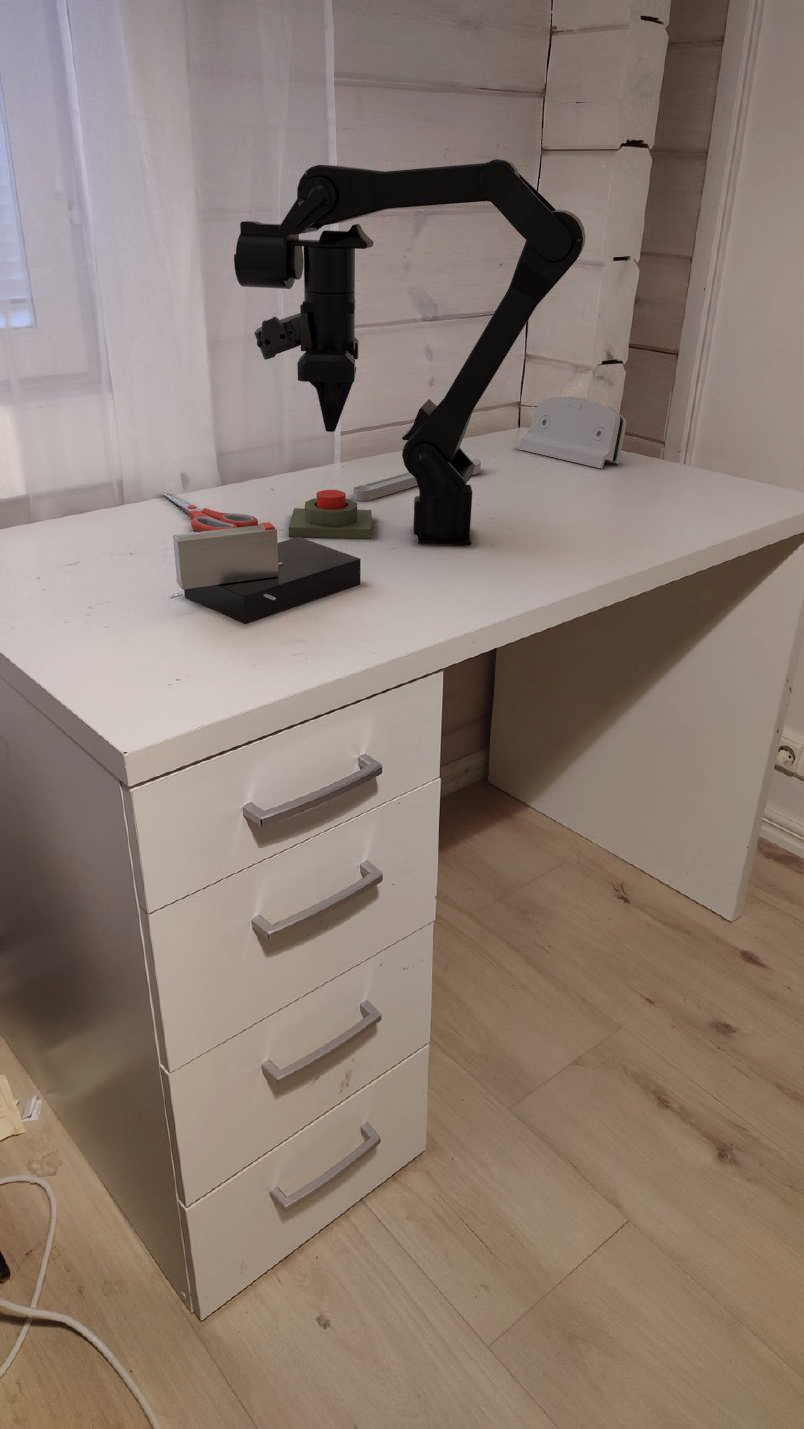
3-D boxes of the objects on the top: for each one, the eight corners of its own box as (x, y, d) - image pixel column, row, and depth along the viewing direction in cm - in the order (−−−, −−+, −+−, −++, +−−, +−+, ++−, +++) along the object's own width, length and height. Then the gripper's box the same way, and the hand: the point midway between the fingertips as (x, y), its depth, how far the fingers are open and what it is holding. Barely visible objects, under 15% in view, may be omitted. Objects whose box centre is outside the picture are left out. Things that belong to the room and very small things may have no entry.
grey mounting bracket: (516, 448, 165) (534, 387, 163) (532, 454, 169) (549, 393, 167) (602, 468, 155) (622, 403, 153) (617, 474, 159) (636, 410, 157)
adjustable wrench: (362, 503, 137) (362, 490, 136) (332, 493, 141) (332, 480, 140) (486, 472, 152) (487, 460, 151) (456, 464, 156) (456, 452, 155)
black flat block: (130, 606, 103) (127, 577, 101) (290, 558, 116) (290, 532, 115) (217, 649, 94) (215, 617, 93) (378, 591, 108) (378, 563, 107)
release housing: (371, 518, 131) (371, 496, 129) (370, 538, 124) (370, 514, 122) (294, 517, 130) (293, 494, 129) (288, 536, 123) (288, 513, 122)
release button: (346, 503, 127) (346, 489, 126) (345, 512, 124) (345, 498, 123) (317, 502, 127) (317, 489, 126) (315, 511, 124) (315, 497, 123)
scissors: (166, 494, 138) (165, 484, 137) (269, 529, 126) (268, 518, 125) (118, 505, 133) (117, 494, 132) (220, 543, 121) (220, 531, 120)
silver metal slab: (181, 590, 99) (177, 538, 96) (176, 583, 100) (172, 532, 98) (278, 576, 103) (277, 527, 100) (272, 570, 104) (270, 521, 102)
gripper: (266, 281, 122) (271, 413, 129) (247, 298, 105) (254, 448, 113) (358, 284, 122) (358, 415, 130) (354, 301, 106) (353, 450, 113)
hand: (330, 431), depth 121 cm, fingers closed
